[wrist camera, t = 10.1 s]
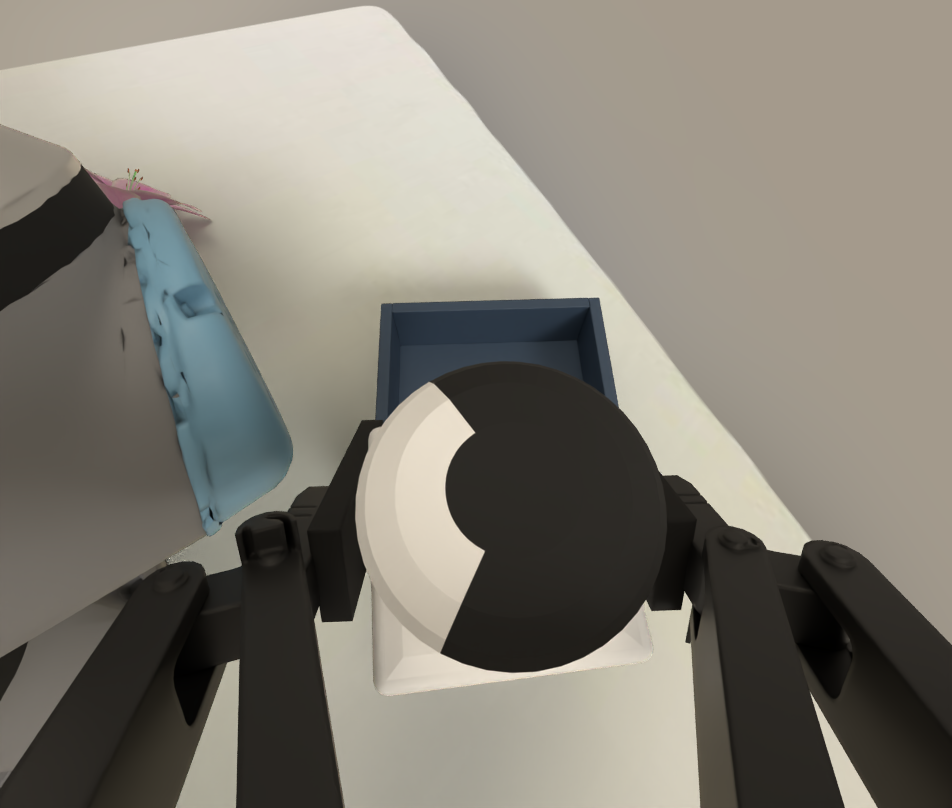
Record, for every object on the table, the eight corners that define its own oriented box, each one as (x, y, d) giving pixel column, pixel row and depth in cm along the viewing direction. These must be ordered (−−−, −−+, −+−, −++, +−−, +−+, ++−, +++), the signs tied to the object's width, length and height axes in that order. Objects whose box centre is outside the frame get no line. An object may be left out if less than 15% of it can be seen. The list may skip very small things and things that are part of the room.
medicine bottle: (559, 468, 21) (654, 306, 10) (593, 646, 18) (777, 687, 7) (398, 485, 21) (318, 336, 10) (406, 671, 18) (307, 752, 7)
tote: (384, 540, 32) (369, 526, 27) (392, 342, 39) (381, 303, 34) (613, 531, 33) (638, 516, 28) (583, 337, 39) (599, 297, 34)
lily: (239, 278, 42) (219, 160, 37) (74, 300, 36) (19, 160, 30) (200, 234, 49) (178, 128, 44) (55, 245, 43) (7, 123, 37)
